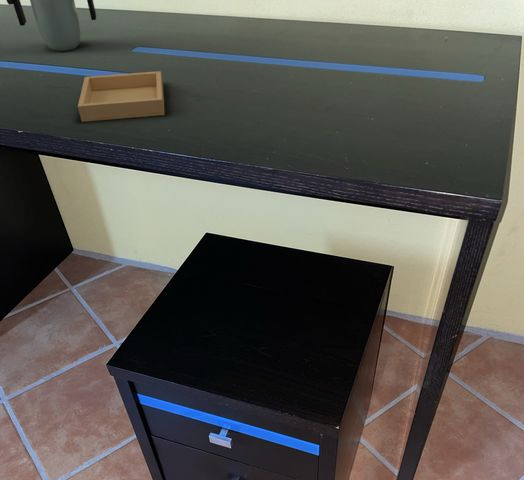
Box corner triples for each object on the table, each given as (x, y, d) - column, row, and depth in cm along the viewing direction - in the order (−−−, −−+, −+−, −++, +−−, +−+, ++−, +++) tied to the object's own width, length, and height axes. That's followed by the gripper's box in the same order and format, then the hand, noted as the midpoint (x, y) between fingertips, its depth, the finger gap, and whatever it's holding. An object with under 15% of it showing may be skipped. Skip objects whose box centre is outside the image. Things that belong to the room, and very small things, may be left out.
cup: (92, 45, 107) (79, -14, 99) (68, 56, 102) (52, -4, 94) (61, 41, 109) (46, -17, 102) (37, 52, 104) (19, -7, 97)
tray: (82, 123, 80) (77, 106, 78) (88, 93, 88) (84, 76, 86) (164, 116, 81) (162, 99, 79) (163, 87, 89) (160, 71, 87)
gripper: (-66, -119, 83) (-11, 31, 98) (93, -128, 85) (122, 21, 100) (-53, -124, 88) (-3, 20, 103) (96, -132, 90) (123, 10, 105)
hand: (59, 21), depth 102 cm, fingers open, 13 cm apart
